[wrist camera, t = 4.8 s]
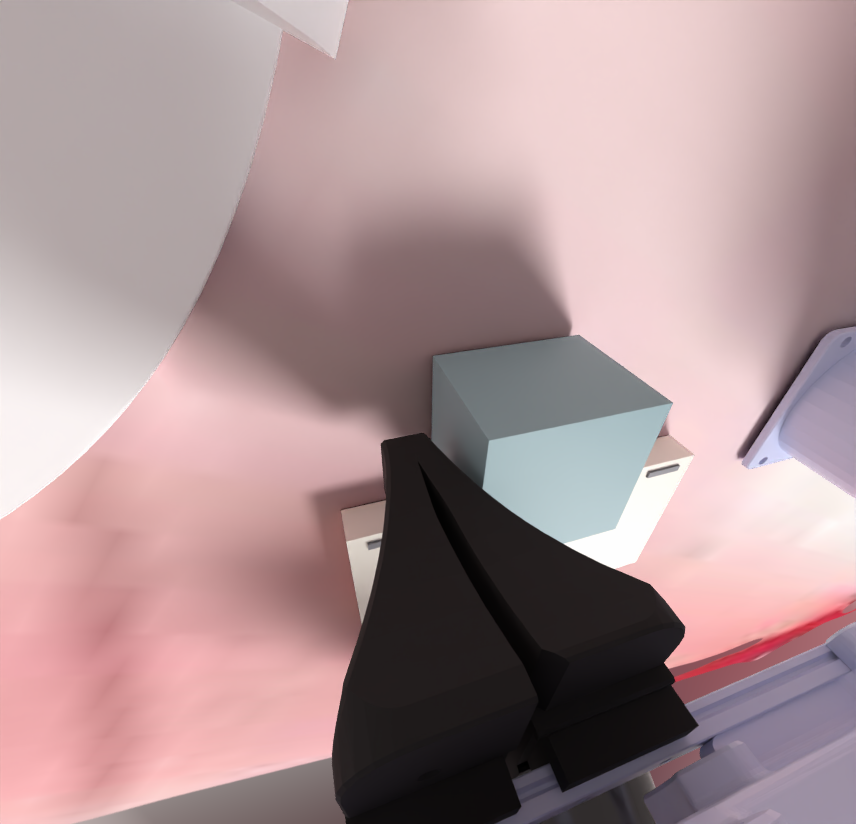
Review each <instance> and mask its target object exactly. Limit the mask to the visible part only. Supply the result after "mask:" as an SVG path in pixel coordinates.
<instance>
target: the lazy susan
mask: <svg viewBox="0 0 856 824" xmlns="http://www.w3.org/2000/svg"><path fill="white" fill-rule="evenodd" d="M348 1H349V0H0V519H2V518H3V517H5V516H6V515H8V514H9V513H11V512H12V511H14V510H15V509H17V508H18V507H19V506H21V505H22V504H23V503H25V502H26V501H28V500H29V499H30V498H32V497H33V496H35V495H36V494H37V493H39V492H40V491H41V490H42V489H43V488H45V487H46V486H47V485H48V484H50V483H51V482H52V481H53V480H55V479H56V478H57V477H58V476H60V475H61V474H62V473H63V472H64V471H65V470H67V469H68V468H69V467H70V466H71V465H72V464H73V463H74V462H75V461H77V460H78V459H79V458H80V457H81V456H82V455H83V454H84V453H85V452H86V451H87V450H88V449H89V448H90V447H91V446H92V445H93V444H94V443H95V442H96V441H97V440H98V439H99V438H100V437H101V436H102V435H103V434H104V433H105V432H106V431H107V430H108V429H109V428H110V427H111V426H112V424H113V423H114V422H115V421H116V420H117V419H118V418H119V416H120V415H121V414H122V413H123V412H124V411H125V410H126V409H127V407H128V406H129V405H130V404H131V402H132V401H133V400H134V398H135V397H136V396H137V395H138V393H139V392H140V391H141V390H142V388H143V387H144V386H145V384H146V383H147V382H148V380H149V379H150V378H151V376H152V375H153V373H154V372H155V370H156V369H157V367H158V366H159V364H160V363H161V362H162V360H163V359H164V357H165V356H166V354H167V353H168V351H169V349H170V348H171V346H172V344H173V343H174V341H175V340H176V338H177V336H178V335H179V333H180V331H181V330H182V328H183V326H184V325H185V323H186V321H187V319H188V317H189V315H190V313H191V312H192V310H193V308H194V306H195V304H196V302H197V300H198V298H199V296H200V294H201V293H202V291H203V288H204V286H205V284H206V282H207V280H208V278H209V275H210V273H211V271H212V269H213V267H214V264H215V262H216V260H217V258H218V256H219V253H220V251H221V248H222V246H223V243H224V240H225V238H226V235H227V233H228V230H229V228H230V225H231V223H232V220H233V218H234V215H235V212H236V210H237V207H238V204H239V201H240V198H241V195H242V192H243V189H244V186H245V183H246V180H247V177H248V174H249V171H250V168H251V165H252V161H253V158H254V154H255V150H256V147H257V143H258V140H259V136H260V133H261V129H262V125H263V122H264V118H265V114H266V109H267V105H268V101H269V96H270V92H271V88H272V83H273V79H274V75H275V70H276V66H277V60H278V55H279V50H280V44H281V39H282V34H283V31H285V32H287V33H288V34H290V35H292V36H294V37H296V38H297V39H299V40H301V41H303V42H305V43H306V44H308V45H310V46H312V47H314V48H315V49H317V50H319V51H321V52H323V53H324V54H326V55H328V56H330V57H332V58H333V59H335V60H336V56H337V51H338V47H339V42H340V37H341V33H342V28H343V24H344V19H345V15H346V10H347V6H348Z"/></svg>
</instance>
